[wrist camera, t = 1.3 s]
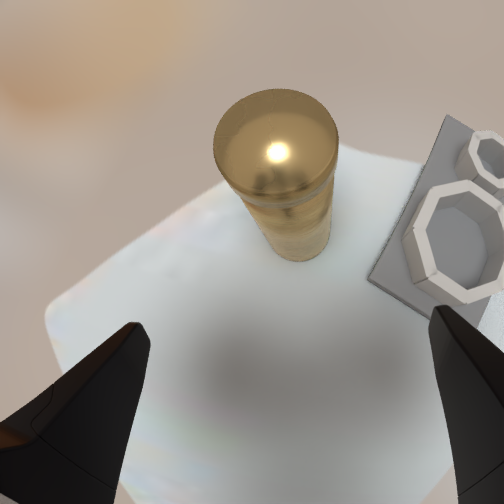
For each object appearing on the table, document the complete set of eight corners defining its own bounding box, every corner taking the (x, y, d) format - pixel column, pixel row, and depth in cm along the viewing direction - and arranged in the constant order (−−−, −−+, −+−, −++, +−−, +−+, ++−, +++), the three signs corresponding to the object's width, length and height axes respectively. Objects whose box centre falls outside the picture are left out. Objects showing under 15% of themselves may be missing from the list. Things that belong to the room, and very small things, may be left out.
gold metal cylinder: (309, 275, 22) (295, 217, 10) (254, 241, 23) (187, 159, 11) (342, 219, 22) (360, 115, 10) (288, 189, 24) (255, 74, 12)
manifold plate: (463, 342, 18) (489, 344, 15) (367, 279, 21) (376, 270, 17) (522, 174, 20) (544, 154, 16) (443, 120, 22) (456, 92, 18)
